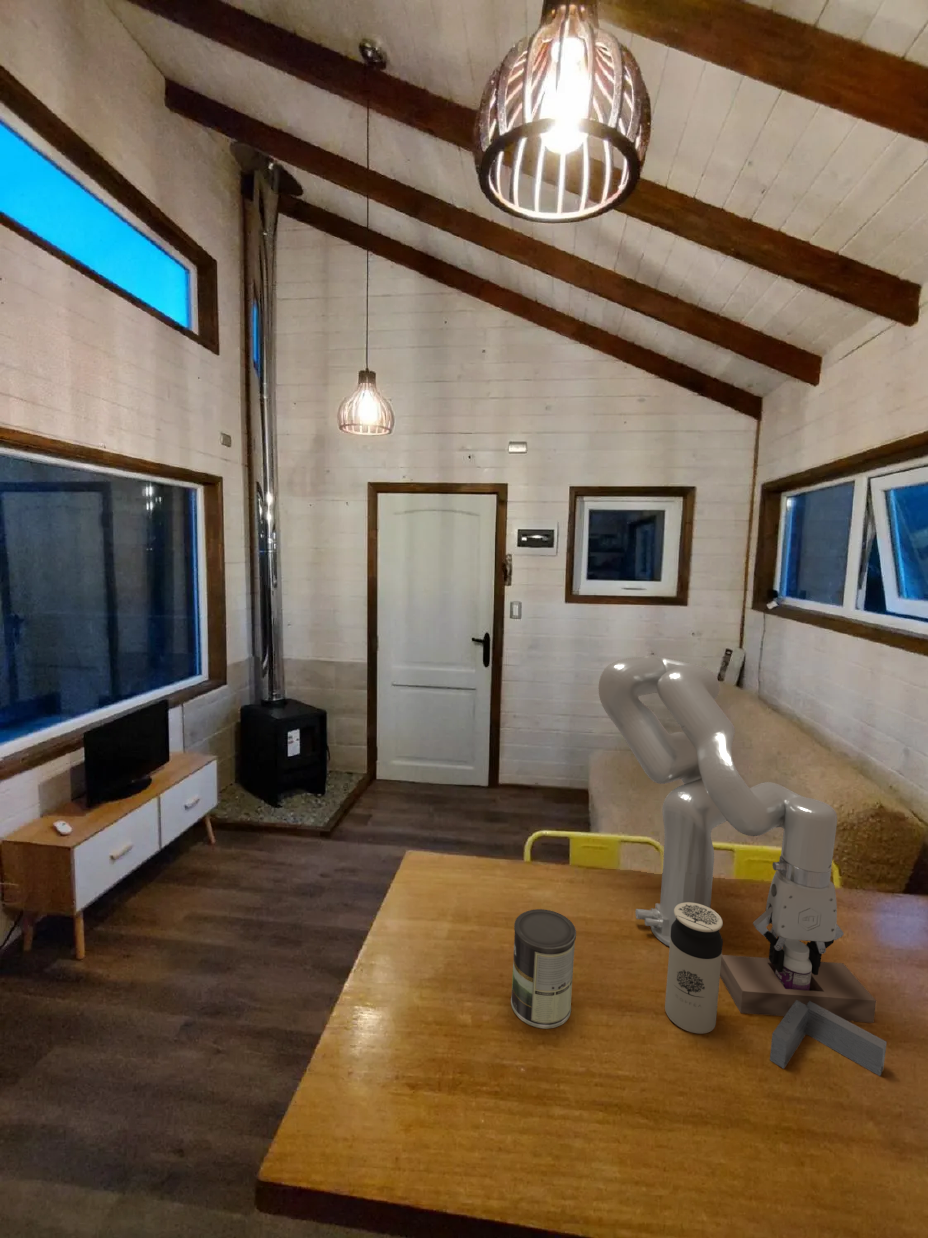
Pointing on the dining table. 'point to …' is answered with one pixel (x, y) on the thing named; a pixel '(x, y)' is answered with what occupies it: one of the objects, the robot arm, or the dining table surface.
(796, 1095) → the dining table surface
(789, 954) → the pill bottle
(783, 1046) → the v block
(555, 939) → the coffee can
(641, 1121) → the dining table surface
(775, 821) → the robot arm
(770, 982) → the wooden block with hole
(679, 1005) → the travel mug
